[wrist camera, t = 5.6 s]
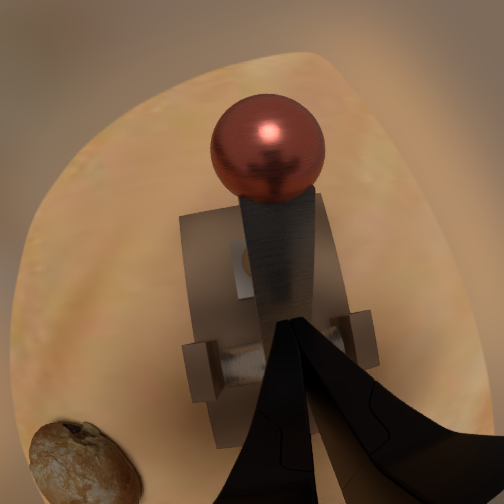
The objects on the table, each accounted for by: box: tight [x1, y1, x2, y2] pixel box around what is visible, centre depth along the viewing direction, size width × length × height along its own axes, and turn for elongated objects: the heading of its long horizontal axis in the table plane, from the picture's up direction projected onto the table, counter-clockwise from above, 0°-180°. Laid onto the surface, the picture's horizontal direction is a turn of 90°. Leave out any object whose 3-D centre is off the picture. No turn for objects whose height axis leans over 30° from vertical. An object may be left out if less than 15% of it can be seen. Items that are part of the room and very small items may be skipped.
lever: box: [210, 94, 345, 388], centre depth 11 cm, size 6×6×13 cm
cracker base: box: [179, 193, 380, 449], centre depth 16 cm, size 16×10×6 cm, turn 10°
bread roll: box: [29, 422, 142, 504], centre depth 13 cm, size 10×10×8 cm
